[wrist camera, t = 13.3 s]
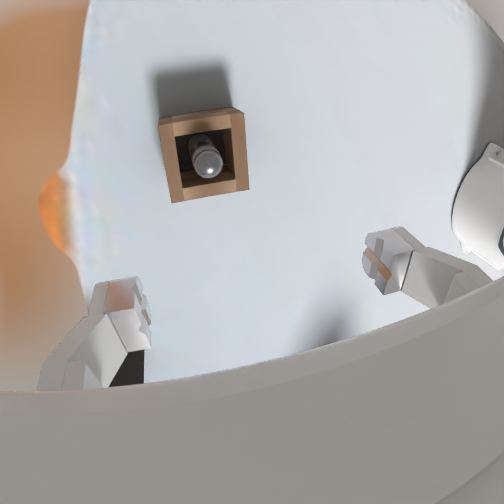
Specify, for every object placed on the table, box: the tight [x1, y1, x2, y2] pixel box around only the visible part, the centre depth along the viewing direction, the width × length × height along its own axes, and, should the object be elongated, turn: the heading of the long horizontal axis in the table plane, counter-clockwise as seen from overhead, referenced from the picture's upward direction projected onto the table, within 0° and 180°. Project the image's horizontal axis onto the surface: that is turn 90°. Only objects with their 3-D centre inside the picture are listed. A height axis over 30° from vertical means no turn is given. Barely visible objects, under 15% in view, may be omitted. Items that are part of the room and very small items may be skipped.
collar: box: [158, 107, 249, 203], centre depth 23 cm, size 6×6×4 cm
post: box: [188, 134, 223, 178], centre depth 22 cm, size 2×2×6 cm
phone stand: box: [109, 349, 144, 387], centre depth 31 cm, size 9×6×12 cm, turn 157°
